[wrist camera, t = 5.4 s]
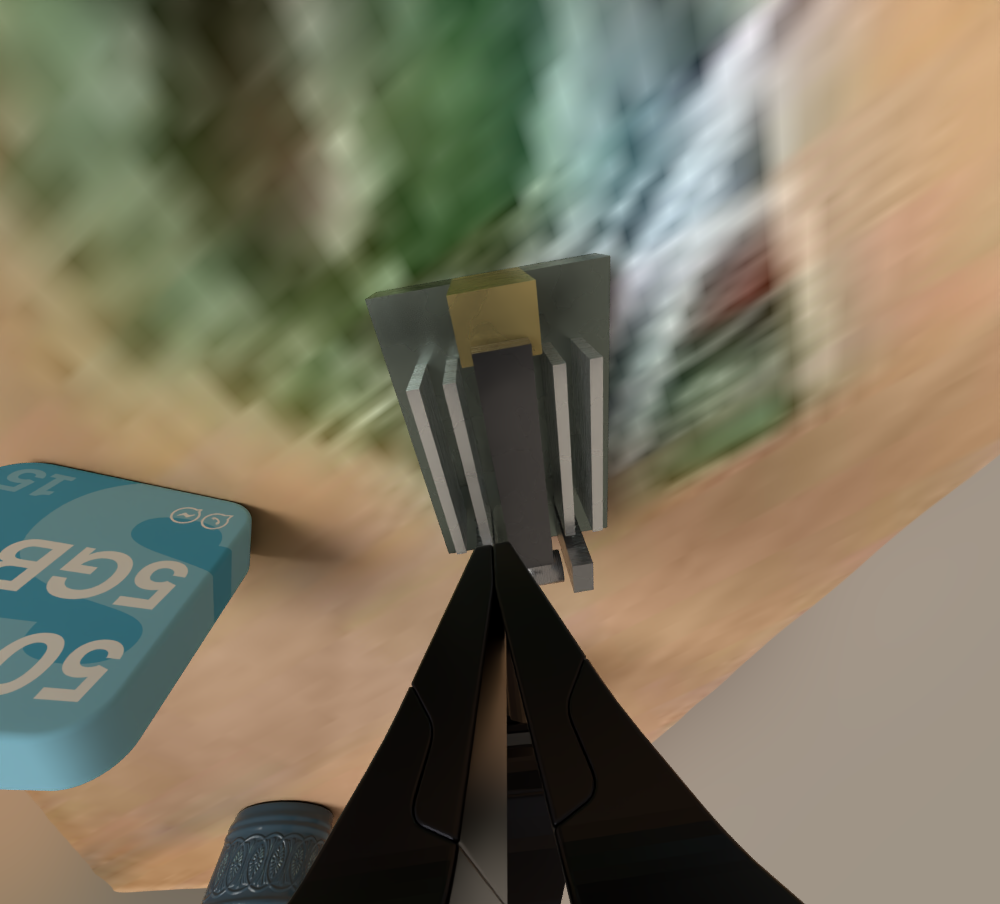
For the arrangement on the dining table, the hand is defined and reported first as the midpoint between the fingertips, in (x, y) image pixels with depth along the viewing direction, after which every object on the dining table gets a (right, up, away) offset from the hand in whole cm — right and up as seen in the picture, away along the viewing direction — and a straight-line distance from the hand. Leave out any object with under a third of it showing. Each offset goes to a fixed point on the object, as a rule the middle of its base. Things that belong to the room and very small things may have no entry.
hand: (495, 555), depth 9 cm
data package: (-21, -1, +13) cm, 25 cm away
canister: (-30, -48, +41) cm, 70 cm away
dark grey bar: (+1, +1, +8) cm, 8 cm away
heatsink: (+1, +4, +11) cm, 12 cm away
